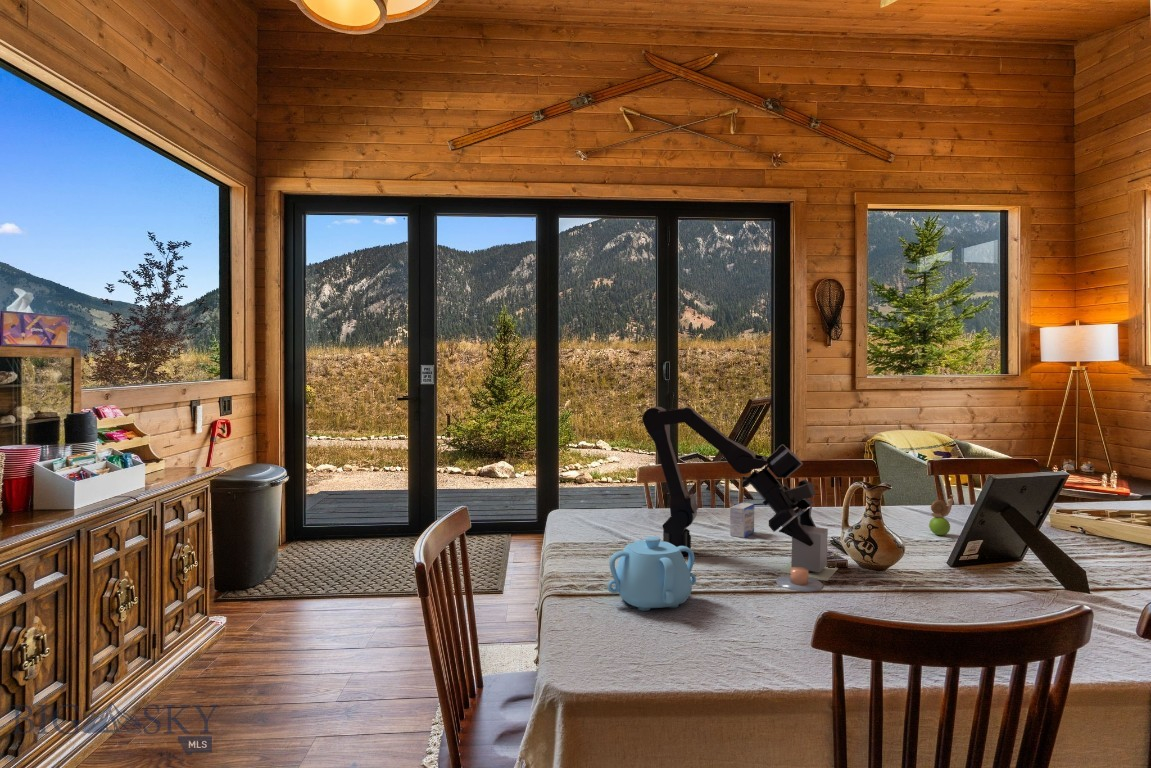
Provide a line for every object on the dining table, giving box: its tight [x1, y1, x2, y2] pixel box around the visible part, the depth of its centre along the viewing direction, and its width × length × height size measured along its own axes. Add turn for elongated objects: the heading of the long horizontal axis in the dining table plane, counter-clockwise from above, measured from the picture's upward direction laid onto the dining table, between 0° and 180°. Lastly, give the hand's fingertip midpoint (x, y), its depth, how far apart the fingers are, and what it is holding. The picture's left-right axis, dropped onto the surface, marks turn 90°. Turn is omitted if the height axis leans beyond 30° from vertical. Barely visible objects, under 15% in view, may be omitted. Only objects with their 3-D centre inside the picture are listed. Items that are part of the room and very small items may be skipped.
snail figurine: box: [928, 494, 955, 536], centre depth 188 cm, size 5×6×12 cm
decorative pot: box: [606, 535, 697, 612], centre depth 135 cm, size 16×16×14 cm
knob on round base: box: [775, 567, 823, 593], centre depth 145 cm, size 10×10×4 cm
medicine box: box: [729, 502, 755, 539], centre depth 188 cm, size 8×4×9 cm, turn 143°
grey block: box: [790, 525, 829, 572], centre depth 155 cm, size 7×7×9 cm
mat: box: [779, 561, 839, 582], centre depth 155 cm, size 11×11×1 cm
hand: (815, 541), depth 154 cm, fingers closed on grey block, 7 cm apart
